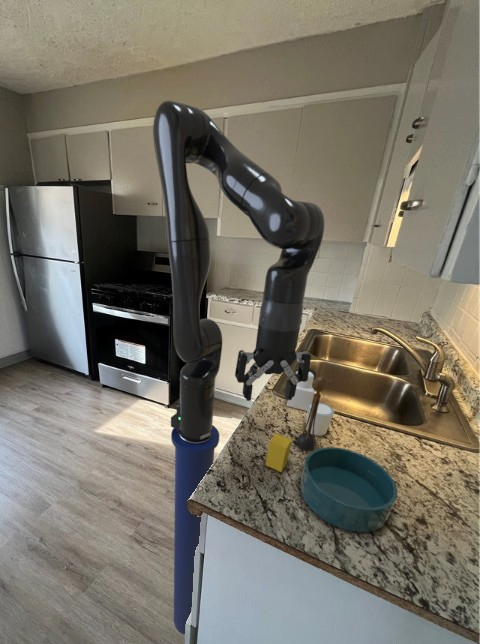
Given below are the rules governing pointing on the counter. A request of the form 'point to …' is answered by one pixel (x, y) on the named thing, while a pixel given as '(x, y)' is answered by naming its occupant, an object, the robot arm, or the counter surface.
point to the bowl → (347, 489)
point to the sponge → (278, 452)
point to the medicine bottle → (303, 392)
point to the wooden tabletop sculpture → (313, 415)
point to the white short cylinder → (320, 419)
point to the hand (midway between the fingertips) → (267, 398)
